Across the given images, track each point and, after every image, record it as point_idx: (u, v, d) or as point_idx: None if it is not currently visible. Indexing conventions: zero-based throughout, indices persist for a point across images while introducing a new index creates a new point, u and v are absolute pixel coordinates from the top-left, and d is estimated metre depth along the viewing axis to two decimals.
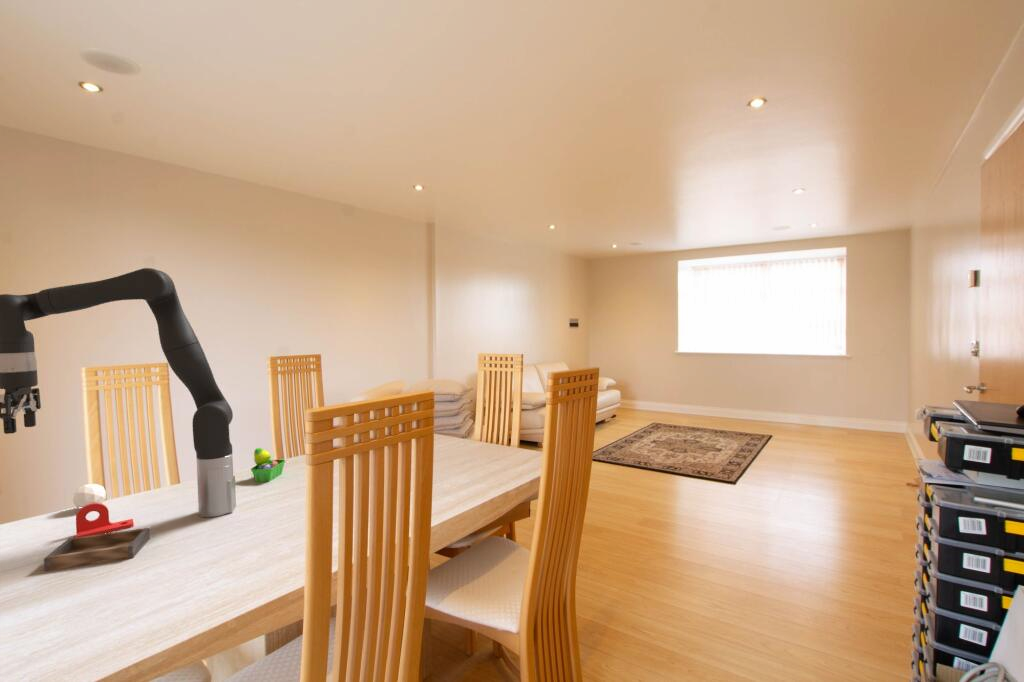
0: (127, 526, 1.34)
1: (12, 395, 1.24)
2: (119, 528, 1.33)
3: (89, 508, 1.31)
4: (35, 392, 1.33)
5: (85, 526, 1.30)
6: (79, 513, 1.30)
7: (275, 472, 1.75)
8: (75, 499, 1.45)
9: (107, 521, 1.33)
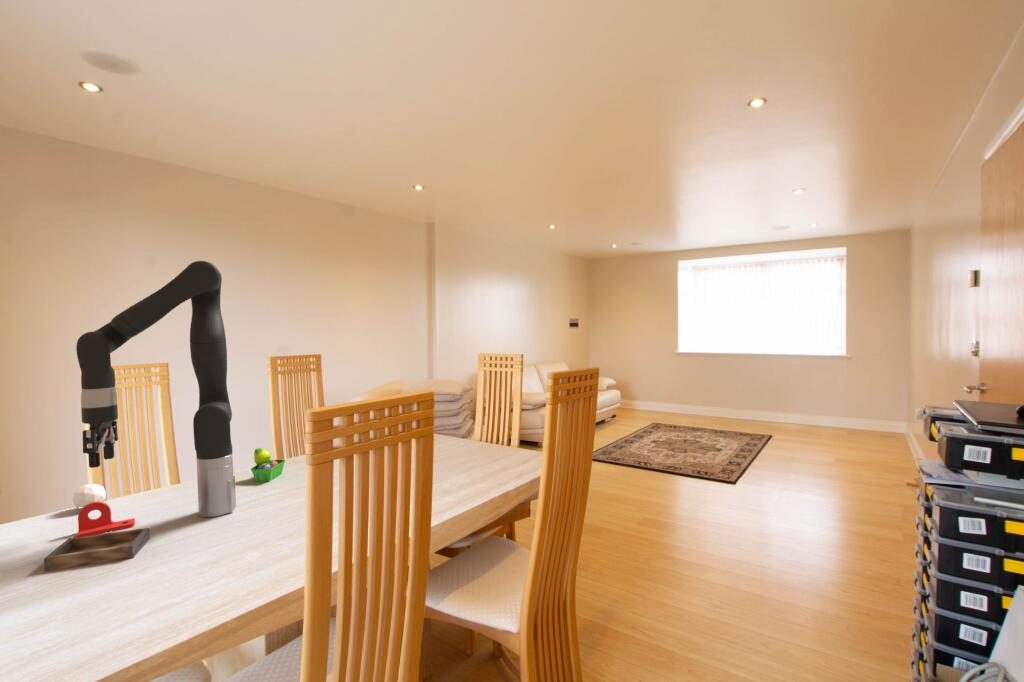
0: (127, 526, 1.34)
1: (97, 430, 1.27)
2: (119, 527, 1.33)
3: (91, 507, 1.32)
4: (113, 425, 1.37)
5: (87, 525, 1.32)
6: (81, 511, 1.31)
7: (275, 472, 1.75)
8: (75, 499, 1.45)
9: (109, 520, 1.34)
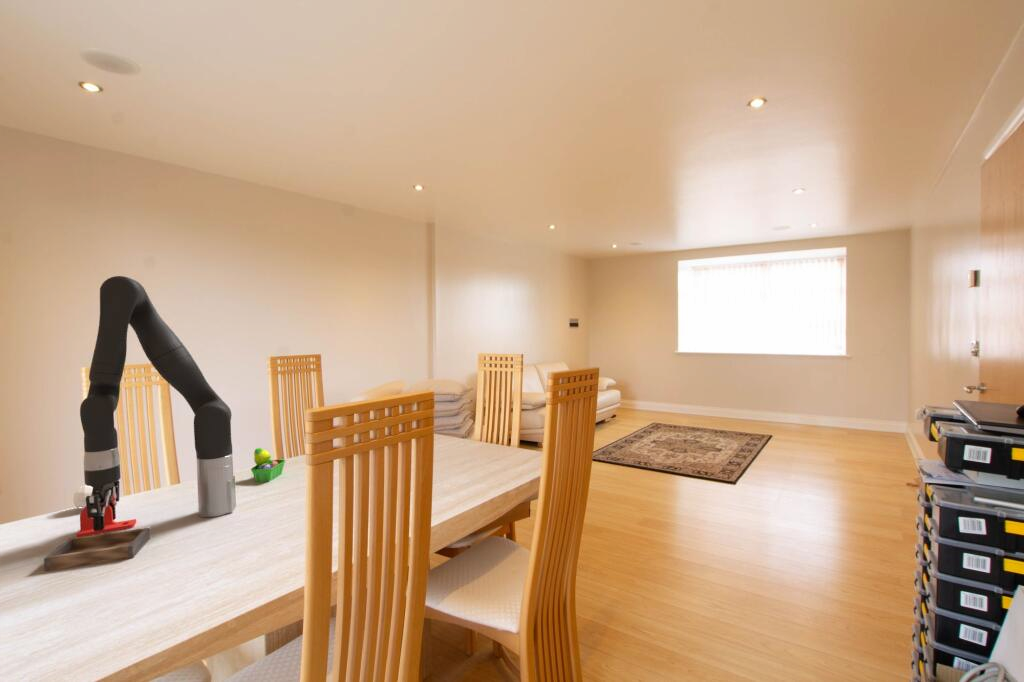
0: (126, 527, 1.33)
1: (99, 493, 1.28)
2: (118, 528, 1.32)
3: None
4: (116, 484, 1.37)
5: (89, 524, 1.32)
6: (83, 511, 1.31)
7: (275, 472, 1.75)
8: (75, 499, 1.45)
9: (110, 520, 1.34)
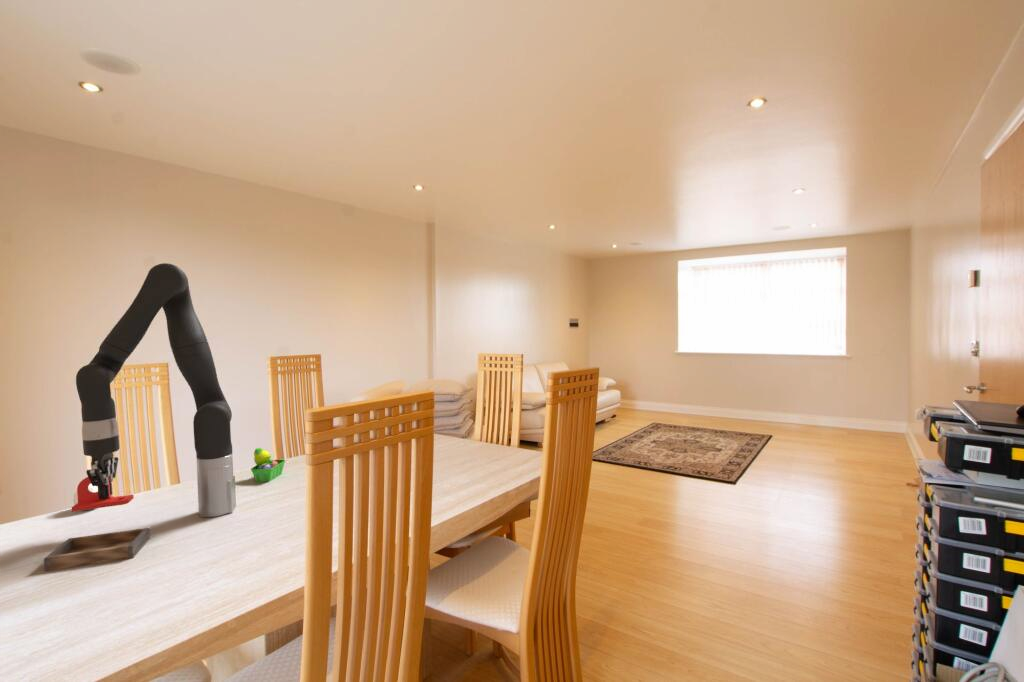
0: (120, 502, 1.30)
1: (99, 464, 1.28)
2: (112, 503, 1.29)
3: (89, 480, 1.30)
4: (114, 460, 1.36)
5: (86, 498, 1.30)
6: (80, 484, 1.29)
7: (275, 472, 1.75)
8: (75, 499, 1.45)
9: None
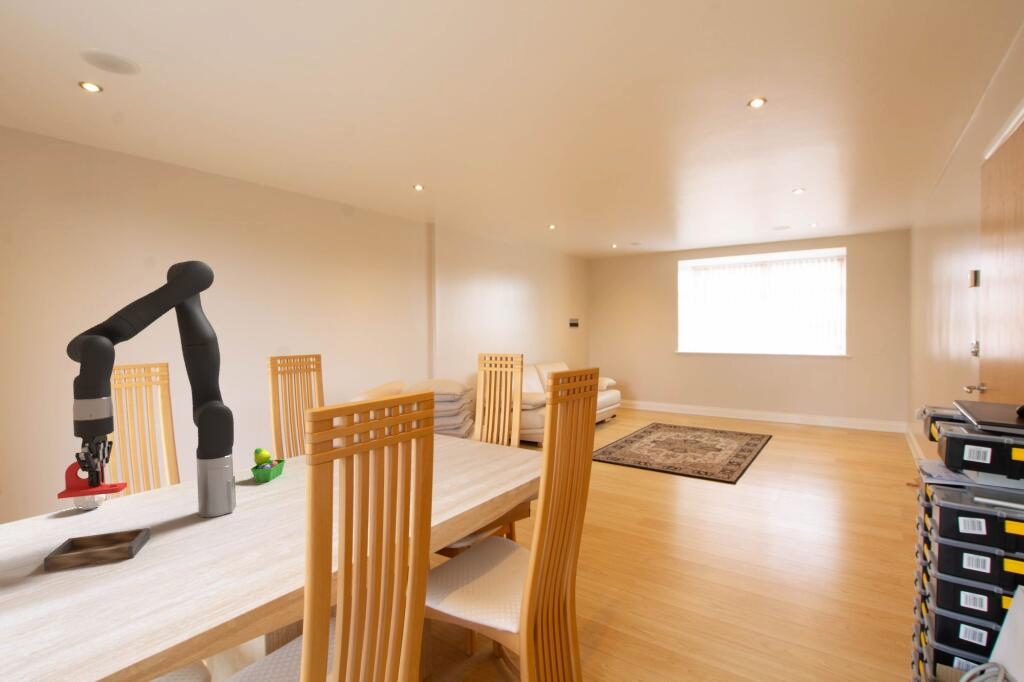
0: (111, 490, 1.17)
1: (90, 447, 1.15)
2: (103, 491, 1.16)
3: (78, 465, 1.17)
4: (108, 444, 1.24)
5: (75, 484, 1.17)
6: (68, 468, 1.17)
7: (275, 472, 1.75)
8: (75, 499, 1.45)
9: None
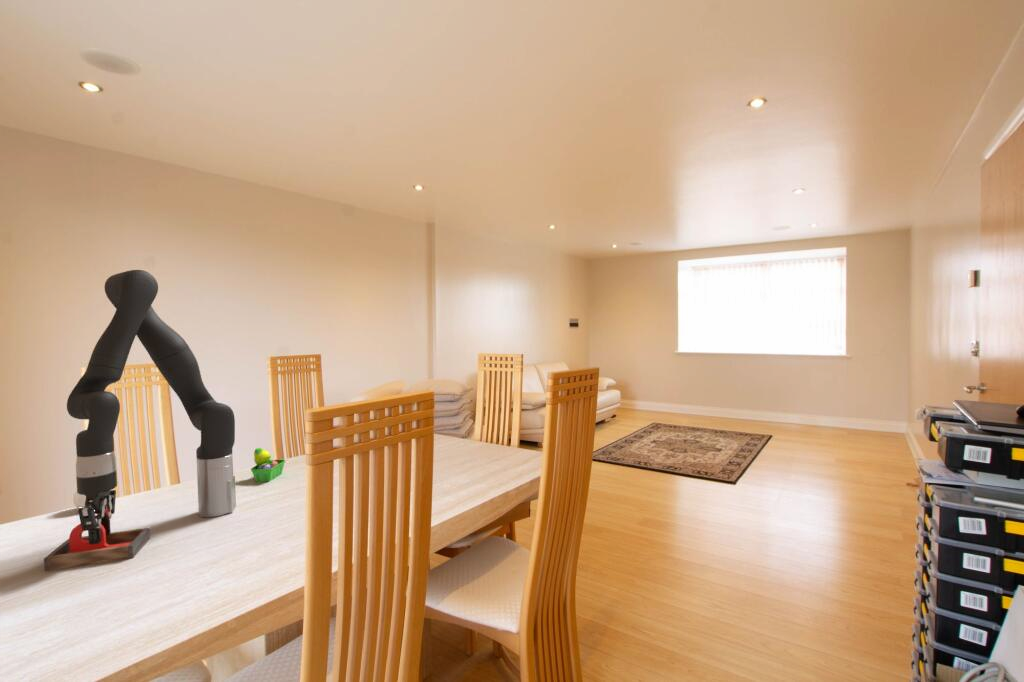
0: None
1: (93, 503, 1.15)
2: None
3: None
4: (112, 494, 1.24)
5: (79, 547, 1.17)
6: (72, 531, 1.17)
7: (275, 472, 1.75)
8: (75, 499, 1.45)
9: (102, 543, 1.19)
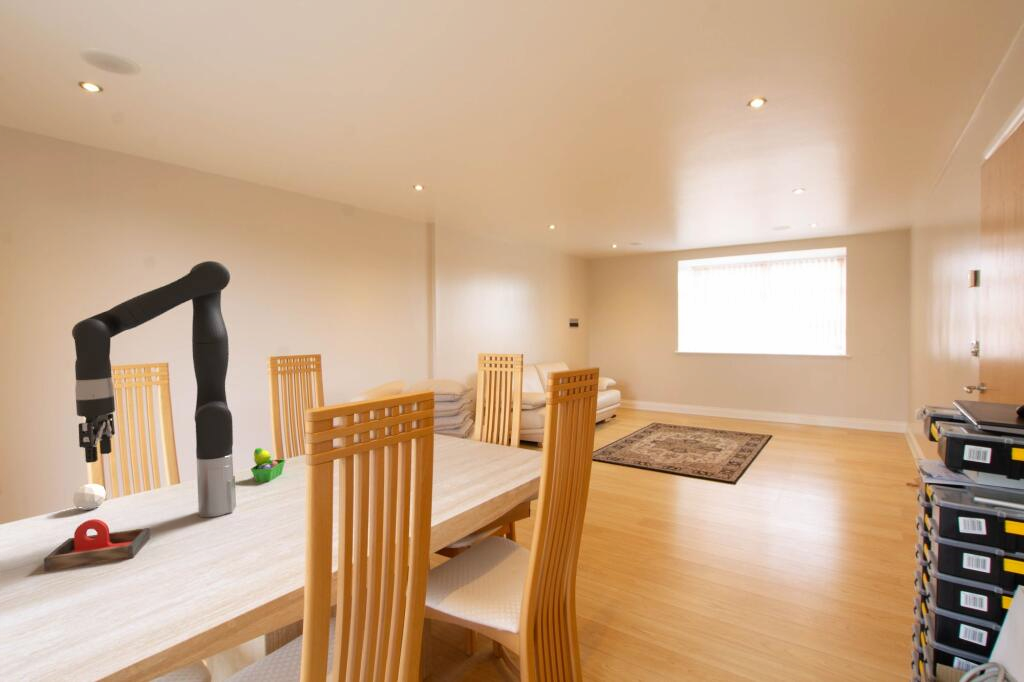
0: None
1: (93, 423, 1.21)
2: None
3: (87, 525, 1.18)
4: (110, 418, 1.30)
5: (83, 544, 1.18)
6: (77, 529, 1.18)
7: (275, 472, 1.75)
8: (75, 499, 1.45)
9: (105, 542, 1.19)
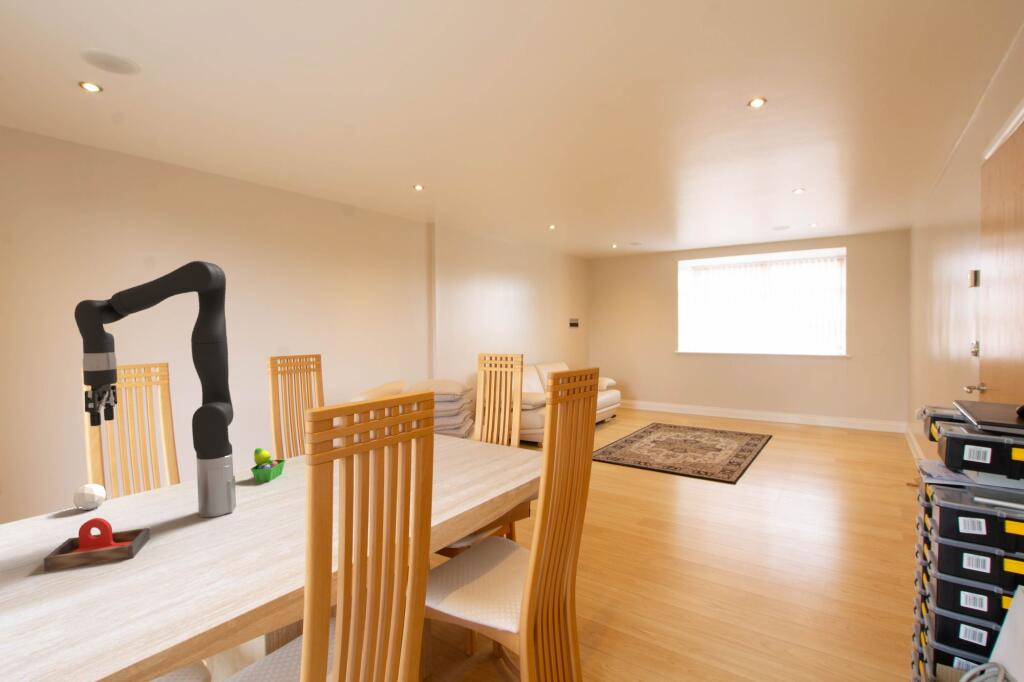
0: None
1: (97, 391, 1.37)
2: None
3: (90, 524, 1.19)
4: (113, 389, 1.46)
5: (87, 543, 1.19)
6: (81, 527, 1.19)
7: (275, 472, 1.75)
8: (75, 499, 1.45)
9: (108, 541, 1.20)
